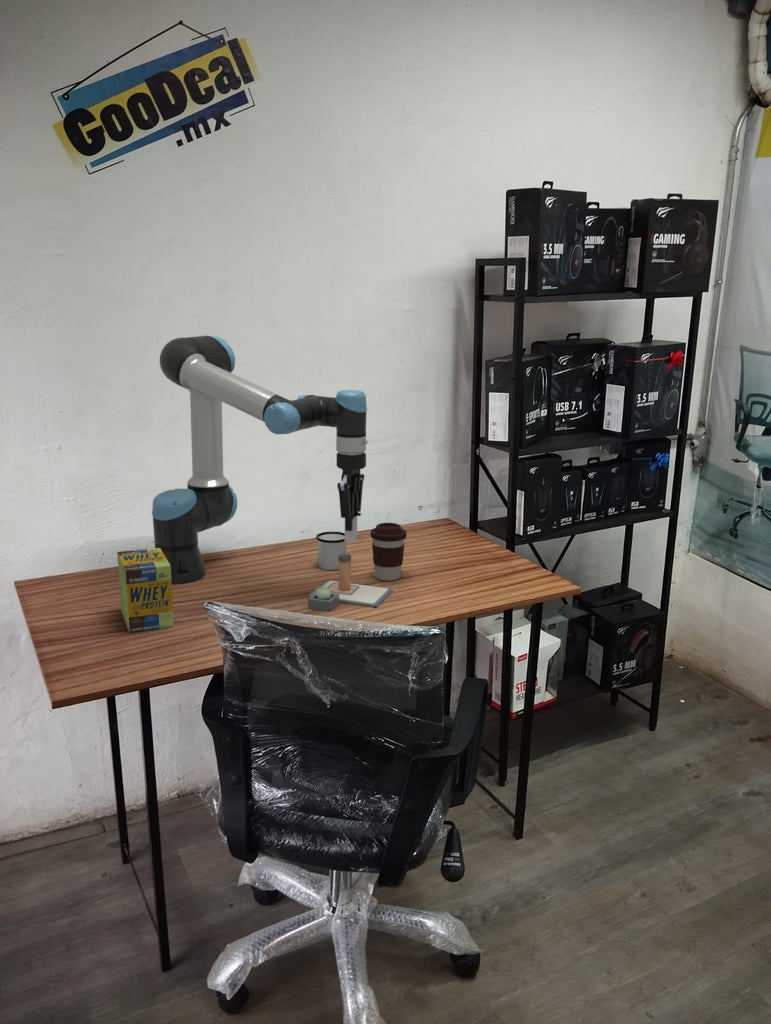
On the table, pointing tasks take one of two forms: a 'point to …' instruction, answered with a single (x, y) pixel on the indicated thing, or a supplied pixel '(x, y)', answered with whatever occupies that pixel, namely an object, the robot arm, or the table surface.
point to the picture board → (358, 594)
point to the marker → (344, 572)
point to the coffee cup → (388, 550)
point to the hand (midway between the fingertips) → (350, 541)
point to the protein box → (145, 589)
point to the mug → (330, 549)
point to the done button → (324, 593)
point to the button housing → (323, 602)
